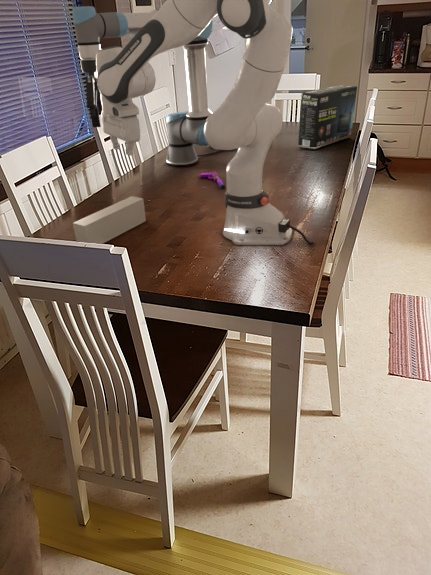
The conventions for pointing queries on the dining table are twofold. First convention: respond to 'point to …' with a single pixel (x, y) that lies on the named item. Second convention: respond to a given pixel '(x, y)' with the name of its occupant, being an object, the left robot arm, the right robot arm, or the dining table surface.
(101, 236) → the bar
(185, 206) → the dining table surface
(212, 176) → the handgun
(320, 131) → the router box
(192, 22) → the right robot arm
